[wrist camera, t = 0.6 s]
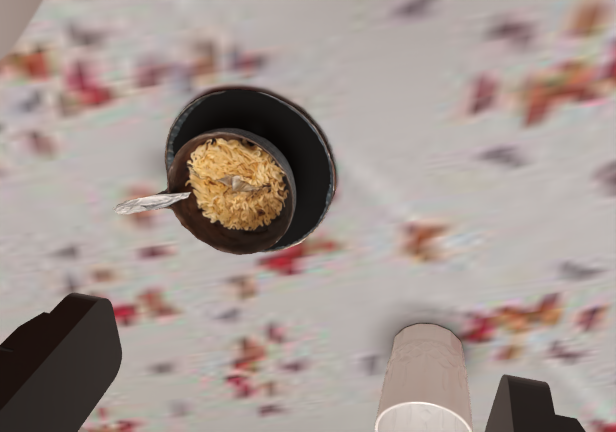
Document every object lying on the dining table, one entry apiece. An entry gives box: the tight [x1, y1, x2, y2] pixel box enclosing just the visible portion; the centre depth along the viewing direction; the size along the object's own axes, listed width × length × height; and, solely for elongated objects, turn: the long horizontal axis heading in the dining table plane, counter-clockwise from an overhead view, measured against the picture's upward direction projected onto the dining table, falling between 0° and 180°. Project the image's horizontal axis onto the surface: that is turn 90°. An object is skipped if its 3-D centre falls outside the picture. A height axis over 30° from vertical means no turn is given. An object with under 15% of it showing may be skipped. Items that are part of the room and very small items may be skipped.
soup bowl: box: [113, 89, 336, 255], centre depth 43 cm, size 15×16×7 cm
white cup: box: [375, 324, 473, 432], centre depth 47 cm, size 8×8×10 cm
